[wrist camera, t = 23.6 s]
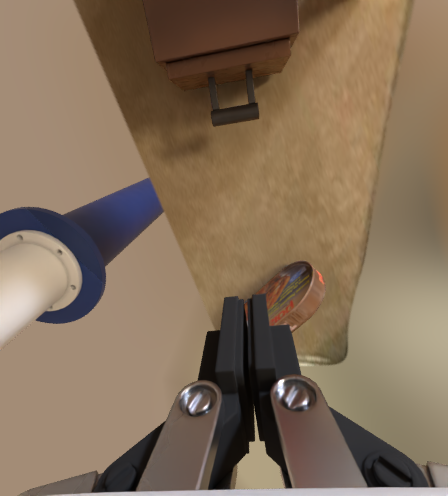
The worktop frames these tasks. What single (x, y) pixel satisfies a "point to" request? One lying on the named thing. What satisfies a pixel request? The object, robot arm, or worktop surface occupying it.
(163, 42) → the cabinet
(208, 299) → the worktop surface
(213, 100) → the drawer
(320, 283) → the tin
